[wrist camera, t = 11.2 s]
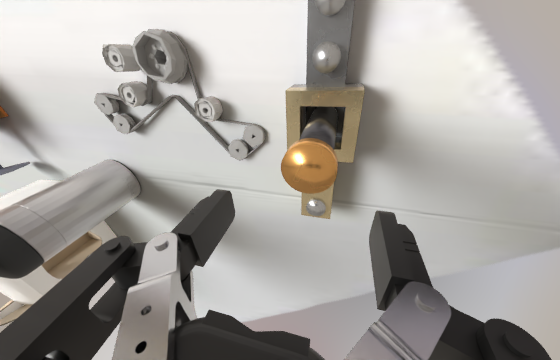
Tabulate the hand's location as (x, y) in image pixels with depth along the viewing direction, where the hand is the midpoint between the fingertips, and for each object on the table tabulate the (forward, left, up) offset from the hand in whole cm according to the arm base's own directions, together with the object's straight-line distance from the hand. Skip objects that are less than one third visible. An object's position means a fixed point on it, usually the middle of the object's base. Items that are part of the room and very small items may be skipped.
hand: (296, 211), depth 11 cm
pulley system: (-21, +3, -18) cm, 28 cm away
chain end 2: (0, -4, -17) cm, 18 cm away
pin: (0, 0, -17) cm, 17 cm away
